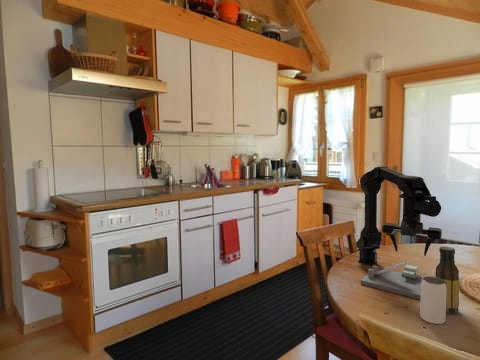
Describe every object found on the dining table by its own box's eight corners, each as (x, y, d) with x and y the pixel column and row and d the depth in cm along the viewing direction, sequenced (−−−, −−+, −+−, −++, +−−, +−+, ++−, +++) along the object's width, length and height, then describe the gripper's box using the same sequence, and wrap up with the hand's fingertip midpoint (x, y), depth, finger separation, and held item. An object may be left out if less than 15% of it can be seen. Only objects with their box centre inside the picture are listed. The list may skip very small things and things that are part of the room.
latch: (401, 278, 120) (402, 269, 120) (406, 273, 125) (406, 264, 125) (413, 281, 118) (413, 271, 117) (418, 275, 123) (418, 266, 122)
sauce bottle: (453, 305, 102) (455, 245, 101) (462, 315, 96) (465, 251, 95) (431, 304, 104) (433, 244, 102) (438, 313, 98) (441, 250, 96)
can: (436, 327, 90) (438, 286, 89) (415, 317, 96) (416, 278, 95) (450, 321, 93) (451, 281, 92) (428, 311, 99) (429, 274, 98)
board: (360, 283, 121) (360, 272, 120) (376, 270, 133) (376, 260, 133) (426, 301, 106) (426, 288, 106) (437, 284, 118) (437, 273, 118)
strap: (371, 276, 124) (369, 273, 124) (374, 274, 126) (372, 271, 126) (404, 266, 115) (403, 263, 116) (407, 264, 118) (405, 260, 118)
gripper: (378, 212, 114) (378, 255, 116) (440, 218, 103) (438, 265, 105) (385, 208, 123) (385, 247, 125) (442, 212, 112) (441, 255, 114)
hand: (410, 253), depth 117 cm, fingers open, 9 cm apart
